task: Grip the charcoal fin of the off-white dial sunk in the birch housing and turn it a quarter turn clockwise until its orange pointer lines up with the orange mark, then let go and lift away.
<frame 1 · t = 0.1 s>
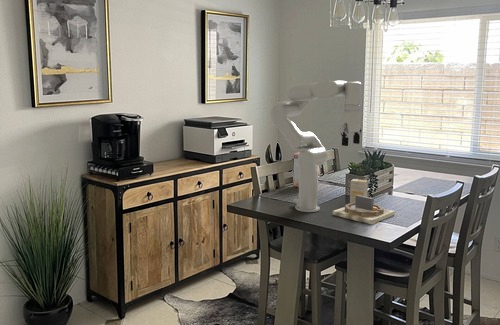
hand: (350, 144, 241), 37 cm above the table, tool pointing down, fingers open, 9 cm apart
dial: (364, 203, 254), point 6 cm above the table, hinge at 0.0°
dial housing: (363, 214, 255), on the table
cracker box: (304, 188, 310), on the table
supplement box: (358, 204, 275), on the table
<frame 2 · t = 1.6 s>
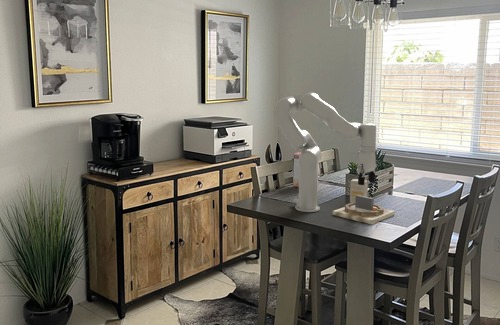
hand: (366, 183, 252), 16 cm above the table, tool pointing down, fingers open, 9 cm apart
nothing on the table moved.
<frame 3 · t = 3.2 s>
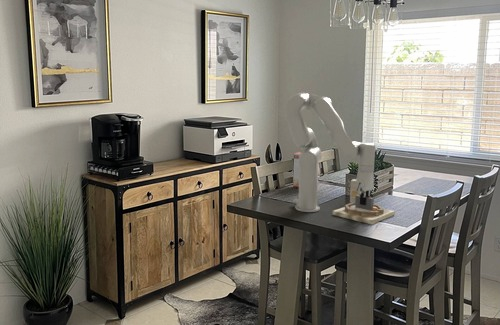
hand: (364, 203, 254), 6 cm above the table, tool pointing down, fingers closed on dial, 2 cm apart
dial: (364, 203, 254), point 6 cm above the table, hinge at 0.0°, touching gripper
everything else where it was.
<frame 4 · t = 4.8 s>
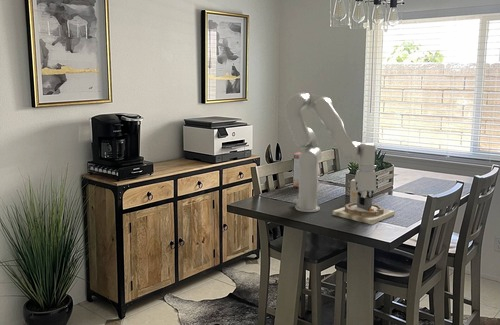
hand: (364, 204, 254), 6 cm above the table, tool pointing down, fingers closed on dial, 2 cm apart
dial: (364, 203, 254), point 6 cm above the table, hinge at -21.9°, touching gripper
everything else where it was.
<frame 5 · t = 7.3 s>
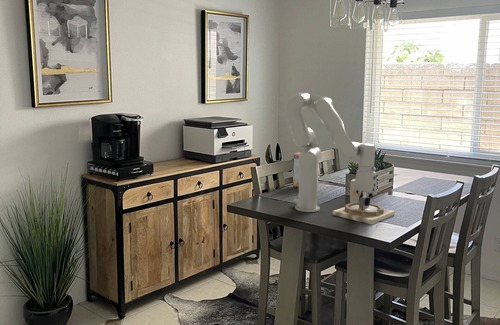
hand: (364, 204, 254), 5 cm above the table, tool pointing down, fingers closed on dial, 2 cm apart
dial: (364, 203, 254), point 6 cm above the table, hinge at -79.1°, touching gripper
everything else where it was.
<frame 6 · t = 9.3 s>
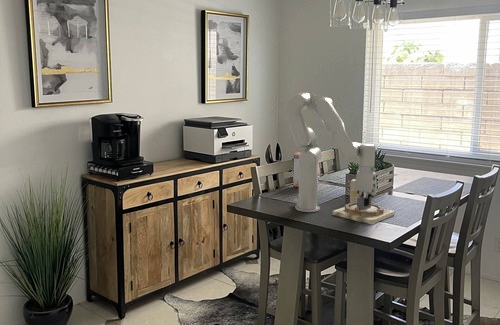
hand: (364, 204, 254), 5 cm above the table, tool pointing down, fingers closed on dial, 2 cm apart
dial: (364, 203, 254), point 6 cm above the table, hinge at -94.8°, touching gripper
everything else where it was.
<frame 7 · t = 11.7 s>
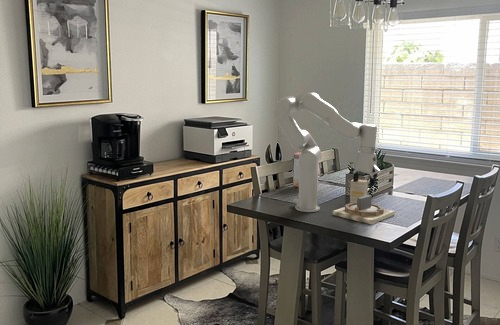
hand: (363, 183, 252), 16 cm above the table, tool pointing down, fingers open, 9 cm apart
dial: (364, 203, 254), point 6 cm above the table, hinge at -94.8°
everything else where it was.
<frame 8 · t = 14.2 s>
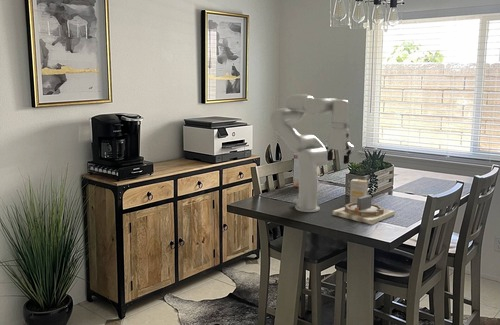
hand: (337, 161, 242), 28 cm above the table, tool pointing down, fingers open, 9 cm apart
nothing on the table moved.
at the end: dial at -95° (first picture: +0°); the gripper is holding nothing; supplement box moved 0.2 cm from its start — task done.
